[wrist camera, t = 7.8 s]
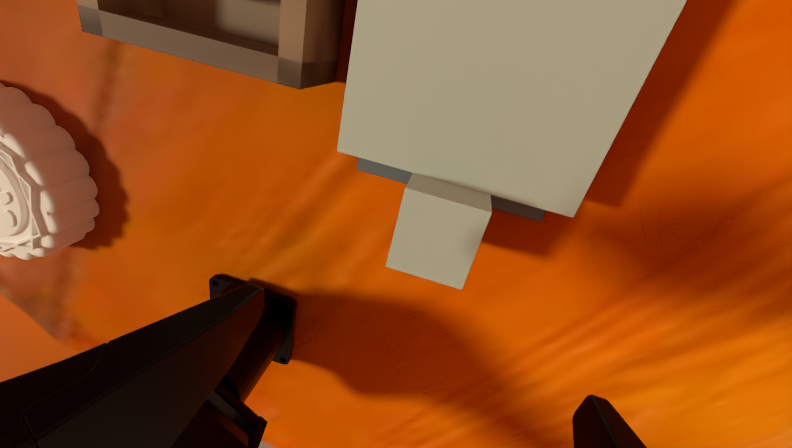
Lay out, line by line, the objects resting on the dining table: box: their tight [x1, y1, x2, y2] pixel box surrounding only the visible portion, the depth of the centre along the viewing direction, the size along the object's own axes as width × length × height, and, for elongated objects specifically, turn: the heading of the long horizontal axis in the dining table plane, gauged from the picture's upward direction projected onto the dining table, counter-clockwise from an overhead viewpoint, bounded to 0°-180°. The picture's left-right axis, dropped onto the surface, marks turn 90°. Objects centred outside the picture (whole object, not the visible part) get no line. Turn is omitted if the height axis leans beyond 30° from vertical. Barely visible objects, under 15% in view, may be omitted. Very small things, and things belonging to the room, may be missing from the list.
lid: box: [337, 0, 687, 290], centre depth 14 cm, size 17×11×4 cm, turn 168°
